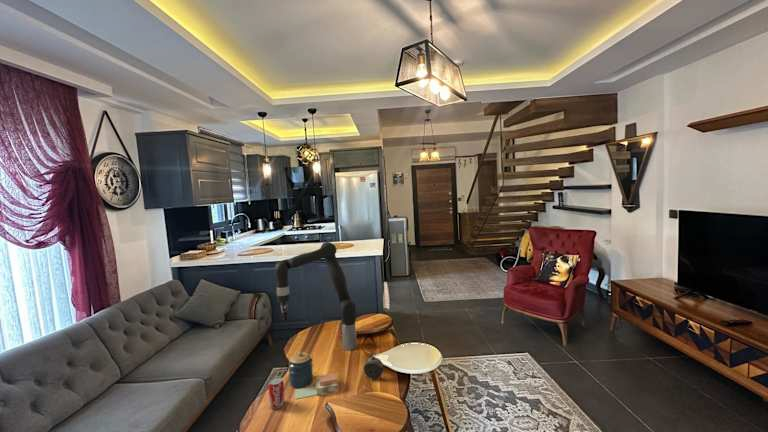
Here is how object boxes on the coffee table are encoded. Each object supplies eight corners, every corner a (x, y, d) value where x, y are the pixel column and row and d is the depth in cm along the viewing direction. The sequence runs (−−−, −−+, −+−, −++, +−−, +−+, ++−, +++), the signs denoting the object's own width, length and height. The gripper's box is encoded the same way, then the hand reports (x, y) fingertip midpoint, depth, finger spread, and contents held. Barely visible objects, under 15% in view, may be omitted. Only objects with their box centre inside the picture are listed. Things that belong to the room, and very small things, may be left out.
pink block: (335, 376, 178) (335, 373, 178) (337, 382, 172) (337, 378, 172) (319, 379, 175) (319, 376, 175) (320, 385, 170) (320, 382, 169)
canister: (292, 391, 172) (290, 360, 171) (287, 379, 183) (286, 349, 182) (315, 384, 178) (314, 353, 177) (309, 372, 189) (308, 344, 188)
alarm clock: (384, 377, 182) (383, 350, 181) (382, 383, 177) (381, 355, 176) (365, 375, 185) (364, 348, 183) (363, 381, 179) (362, 353, 178)
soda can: (271, 401, 164) (270, 377, 163) (285, 399, 165) (284, 375, 164) (267, 410, 157) (266, 385, 156) (282, 409, 158) (281, 384, 157)
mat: (315, 386, 176) (315, 385, 176) (317, 394, 168) (317, 394, 168) (295, 390, 173) (295, 389, 173) (295, 399, 165) (295, 398, 165)
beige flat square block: (335, 381, 180) (335, 374, 180) (338, 391, 170) (337, 384, 170) (315, 385, 177) (315, 378, 177) (317, 396, 167) (316, 388, 167)
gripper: (290, 295, 195) (292, 321, 196) (287, 289, 208) (289, 313, 209) (277, 297, 192) (279, 323, 193) (275, 291, 205) (277, 315, 206)
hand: (284, 318), depth 201 cm, fingers open, 8 cm apart
